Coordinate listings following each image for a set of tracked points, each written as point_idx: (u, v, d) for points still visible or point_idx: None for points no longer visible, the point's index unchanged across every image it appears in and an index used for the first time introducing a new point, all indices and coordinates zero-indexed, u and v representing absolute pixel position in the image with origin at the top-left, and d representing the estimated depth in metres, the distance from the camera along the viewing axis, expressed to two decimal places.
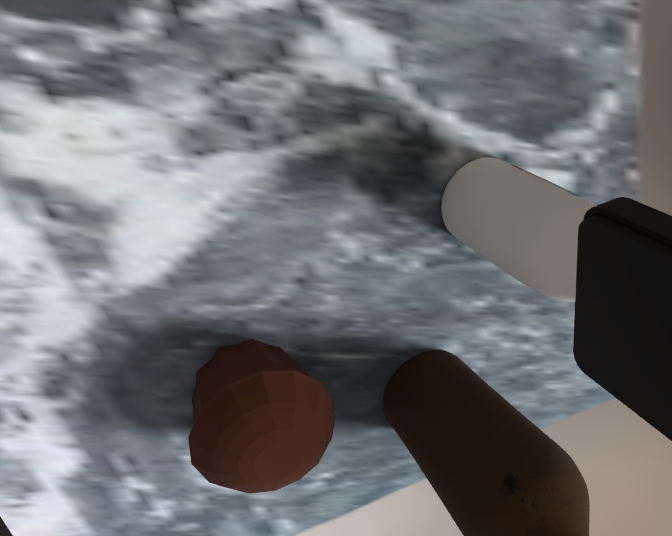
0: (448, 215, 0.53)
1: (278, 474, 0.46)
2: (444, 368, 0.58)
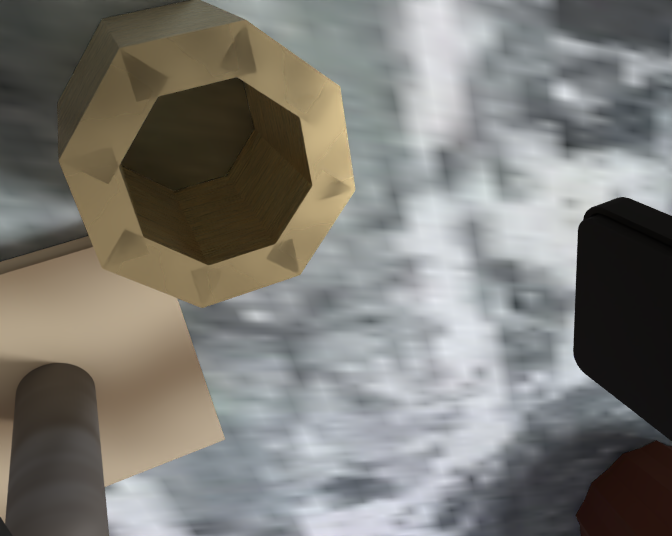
0: None
1: None
2: None
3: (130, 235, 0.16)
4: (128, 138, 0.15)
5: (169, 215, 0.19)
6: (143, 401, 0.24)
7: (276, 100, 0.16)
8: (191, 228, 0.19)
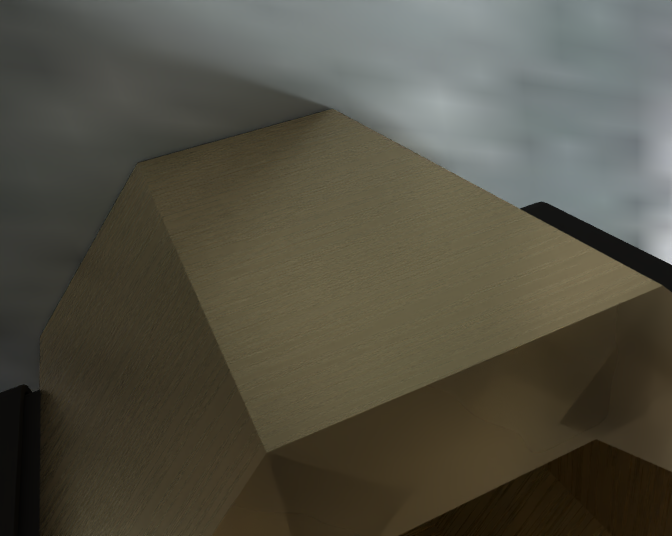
0: None
1: None
2: None
3: None
4: None
5: None
6: None
7: (671, 467, 0.05)
8: None
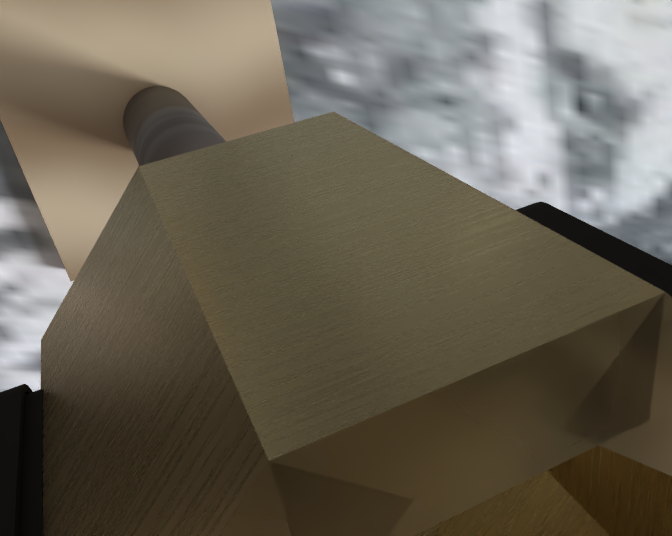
0: None
1: None
2: None
3: None
4: None
5: None
6: None
7: None
8: None
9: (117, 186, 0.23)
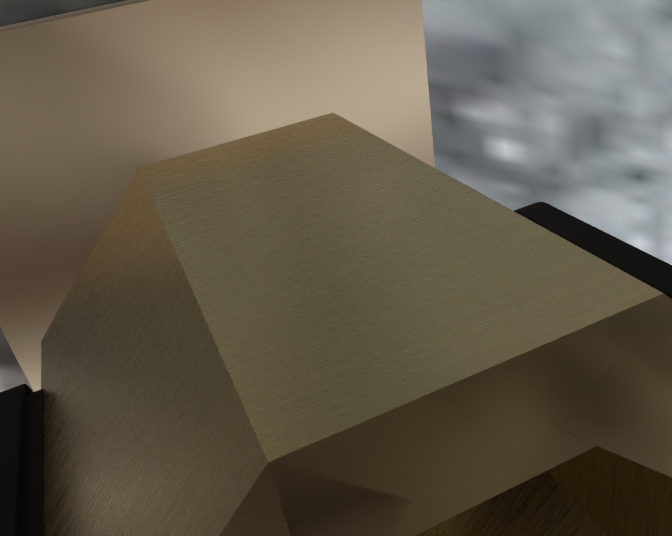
0: None
1: None
2: None
3: None
4: None
5: None
6: None
7: (671, 472, 0.05)
8: None
9: None
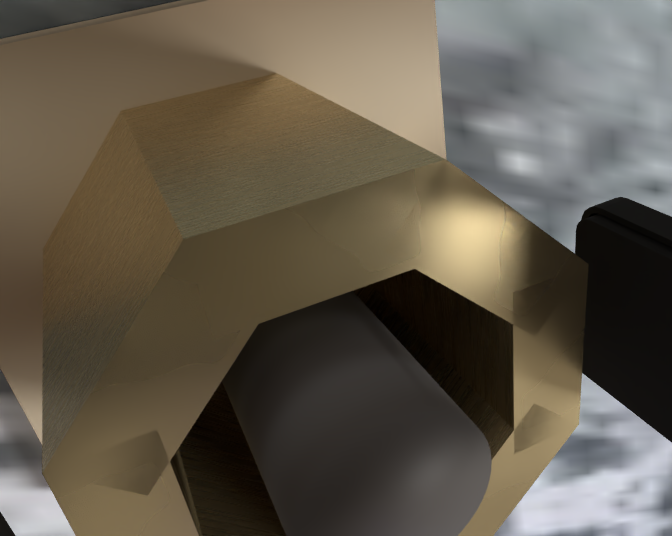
0: None
1: None
2: None
3: None
4: (193, 408, 0.07)
5: (234, 443, 0.11)
6: None
7: (479, 301, 0.08)
8: None
9: None
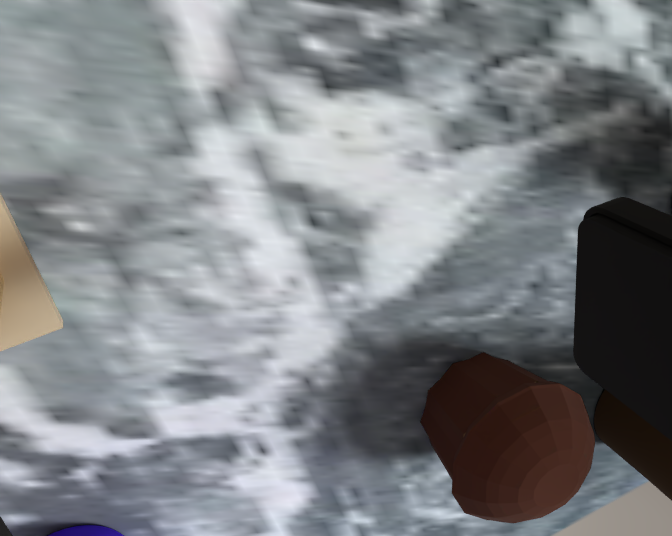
0: None
1: (553, 500, 0.42)
2: None
3: None
4: None
5: None
6: None
7: None
8: None
9: None
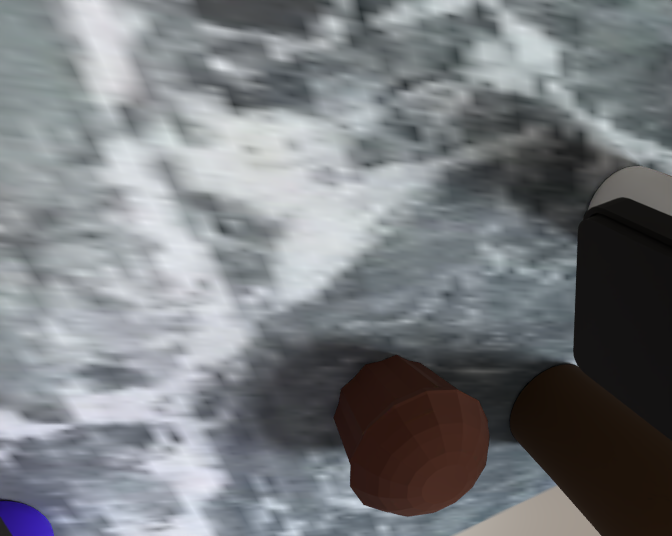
0: None
1: (442, 497, 0.45)
2: (579, 383, 0.56)
3: None
4: None
5: None
6: None
7: None
8: None
9: None
